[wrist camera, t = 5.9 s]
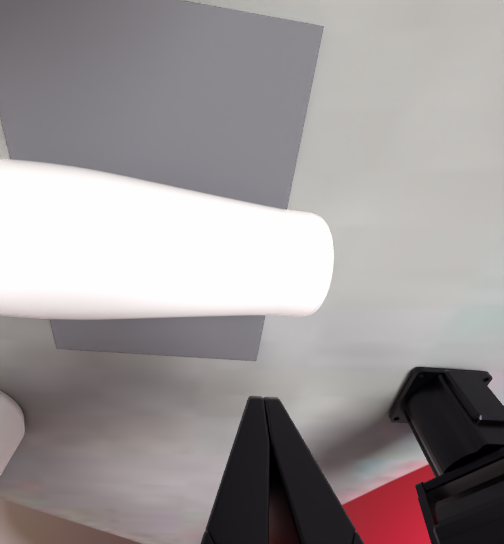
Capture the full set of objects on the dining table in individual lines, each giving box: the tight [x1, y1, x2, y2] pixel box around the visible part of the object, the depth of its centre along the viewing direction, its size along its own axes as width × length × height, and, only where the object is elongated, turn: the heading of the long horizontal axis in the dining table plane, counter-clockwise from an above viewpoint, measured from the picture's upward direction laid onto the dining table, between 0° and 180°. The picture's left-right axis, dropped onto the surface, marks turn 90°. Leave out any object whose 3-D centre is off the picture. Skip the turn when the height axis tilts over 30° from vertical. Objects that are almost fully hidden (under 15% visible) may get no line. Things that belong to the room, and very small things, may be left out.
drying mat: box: [0, 0, 324, 361], centre depth 18 cm, size 20×14×1 cm
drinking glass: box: [0, 158, 334, 320], centre depth 15 cm, size 7×7×15 cm
